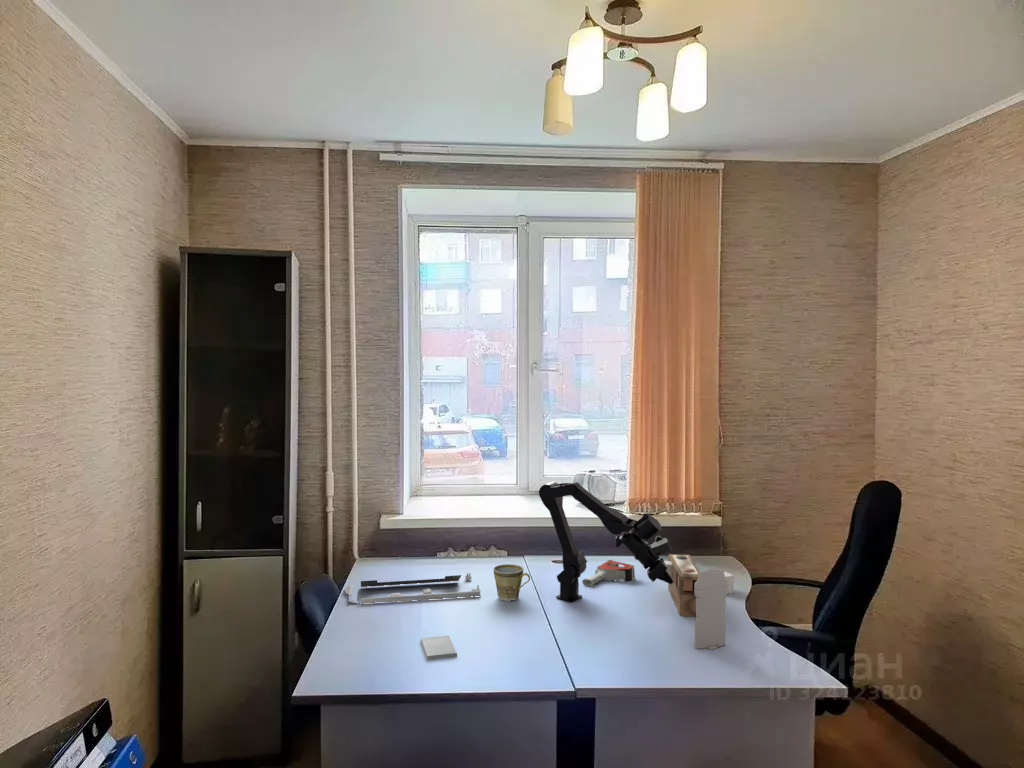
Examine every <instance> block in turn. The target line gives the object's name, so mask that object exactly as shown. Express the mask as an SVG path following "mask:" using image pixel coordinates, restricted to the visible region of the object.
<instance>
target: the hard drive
mask: <svg viewBox="0 0 1024 768" xmlns="http://www.w3.org/2000/svg"><path fill="white" fill-rule="evenodd" d="M420 644H421V647H422V650H423V653H424V655H425V659H426V660H427V661H431V660H433V661H434V660H440V659H442V660H443V659H450V658H458V653H457V650H456V647H455V645H454V643H453V641H452V639H451V638H450V635H437V636H429V637H422V638H420Z"/></svg>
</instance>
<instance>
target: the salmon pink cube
mask: <svg viewBox="0 0 1024 768" xmlns="http://www.w3.org/2000/svg"><path fill="white" fill-rule="evenodd" d="M678 588H679V576H678ZM692 589H693V580H684V583H683V591H692Z"/></svg>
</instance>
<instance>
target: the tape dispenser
mask: <svg viewBox="0 0 1024 768" xmlns="http://www.w3.org/2000/svg"><path fill="white" fill-rule="evenodd" d="M620 565H621V566H620ZM635 571H636V570H635V565H633V564H630V563H629V564H628V563H625V562H621V561H617V560H613V559H607V560H606V561H605V562H602V563H601V564H600V565H597V567H596V569H595V570H594V574H593V575H590V576H588V577H585V578H583V579H582V581H581V583H582V585H583V586H586V585H587V587H593V585H595V584H596V583H598V582H600V581H602V579H605V580H604V581H606V580H616V581H615V582H619V581H624V580H625V581H624V582H627V581H630V582H632V581H631V580H633V581H635V580H636V576H635V575H636V573H635ZM634 579H635V580H634ZM618 580H619V581H618Z"/></svg>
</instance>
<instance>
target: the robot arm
mask: <svg viewBox="0 0 1024 768" xmlns="http://www.w3.org/2000/svg"><path fill="white" fill-rule="evenodd" d="M538 496H539V498H540V500H541V502H542V504H543V506H544V507H545V508H546V509H547V510H548V511H549V514H550V518H551V520H552V522H553V523H552V524H553V526H554V529H555V532H556V537H557V539H558V543H559V545H560V548H561V551H562V559H561V560H562V562H561V563H562V569H563V570H562V571H561V572H559V573H558V574H557V575H556V579H557V582H558V583H559V594H558V595H556V596H555V598H556V599H559V600H562V601H566V602H569V603H573V602H576V601H577V600H579V599H582V598H583V596H582V595H581V594H579V592H580V591H579V590H580V588H579V587H580V586H579V585H580V584H579V578H580V577H581V575H582V574H583V573H584V572H585V571H586V569H587V563H588V560H587V559H586V556H585V551H584V550H581V551H580V550H579V549H578V548H577V547H576V544H575V541H574V537H573V534H572V531H571V529H570V525H569V522H568V520H567V519H568V518H567V516H566V513H565V510H564V507H563V500H564V497H567V496H571V497H572V498H574V499H575V500H576V501H578V503H580V504H581V505H583V506H584V507H585V508H586V509H588V511H590V512H591V513H593V514H594V515H595V516H596V517H598V519H599V520H600V522H601V523H602V525H603V526H604V528H605V529H607V531H608V532H609V533H611V534H612V535H616V536H615V548H619V547H620V546H621V545H623V547H625V548H626V549H627V550H628V551H629V552H630V554H632V556H633V557H634V559H635V560H636V561H638V562H639V563H640V564H641V565H642V567H643V568H644V569H645V570H647V571H646V572H647V573H646V574H647V577H648V579H649V580H650V581H651V582H655V581H657V579H658V580H660V581H662V582H665V583H669V584H672V583H673V580H672V579H671V577H670V575H669V574H668V572H667V571H666V570H667V566H666V564H665V562H664V561H665V560H664V558H663V557H662V558H661V557H660V555H664V554H666V553H670V552H672V551H673V549H672V546H671V545H670V542H669V540H668V538H666V537H662V536H661V535H657V534H658V533H659V532H660V531H662V529H663V528H662V524H660V522H659V520H658V519H657V518H655V517H654V516H652V515H651V514H650V513H649V512H646V513H644V515H642V517H641V518H640V519H638V520H635V519H632V518H630V517H628V516H627V515H626V514H624V513H623V512H621V511H619V510H617V509H614V508H611V507H609V506H608V505H606V504H605V503H603V502H602V501H601V500H600V499H598V497H596V495H595V496H594V495H593V494H592V493H590V492H589V491H588V490H587V489H586V488H585V487H583V486H582V485H581V483H579V482H578V481H572V482H561V483H558V482H556V481H549V482H547V483H545V484H543V485H541V486H540V488H539V490H538ZM622 533H623V534H622ZM621 534H622V535H621ZM655 535H657V536H655ZM654 536H655V538H654V539H655V540H654V541H653V543H652V544H651V543H649V542H647V541H649V540H651V539H652V538H653V537H654ZM645 540H646V541H645Z"/></svg>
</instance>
